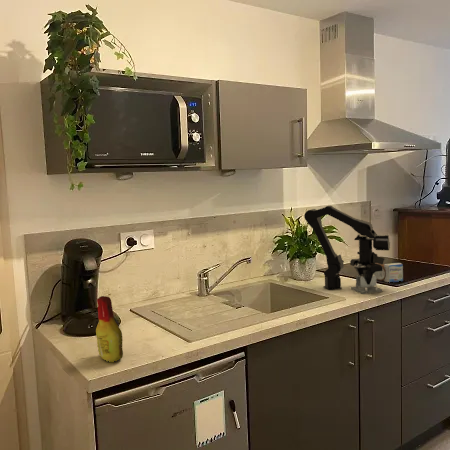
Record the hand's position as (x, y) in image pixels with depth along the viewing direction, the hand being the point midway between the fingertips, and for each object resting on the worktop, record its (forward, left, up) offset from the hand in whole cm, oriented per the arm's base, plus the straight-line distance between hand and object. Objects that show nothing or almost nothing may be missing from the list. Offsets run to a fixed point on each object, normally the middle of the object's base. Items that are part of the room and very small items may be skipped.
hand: (366, 283), depth 214 cm
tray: (0, 0, -3) cm, 3 cm away
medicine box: (+21, +10, -3) cm, 23 cm away
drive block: (0, 0, -1) cm, 1 cm away
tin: (+16, +18, -3) cm, 24 cm away
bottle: (-114, -44, -3) cm, 122 cm away
